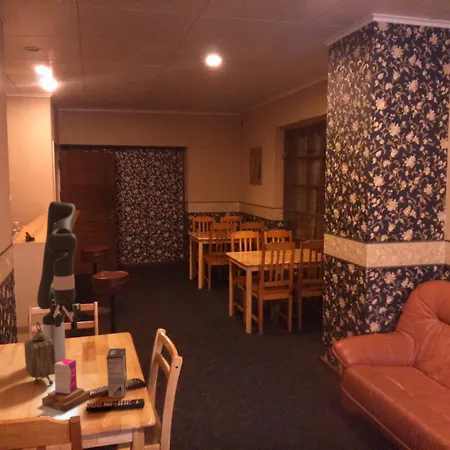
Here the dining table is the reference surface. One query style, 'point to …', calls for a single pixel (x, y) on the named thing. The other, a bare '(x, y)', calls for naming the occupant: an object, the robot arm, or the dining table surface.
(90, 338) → the dining table surface
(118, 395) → the coffee box
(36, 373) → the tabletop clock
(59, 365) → the supplement box
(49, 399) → the walnut base
